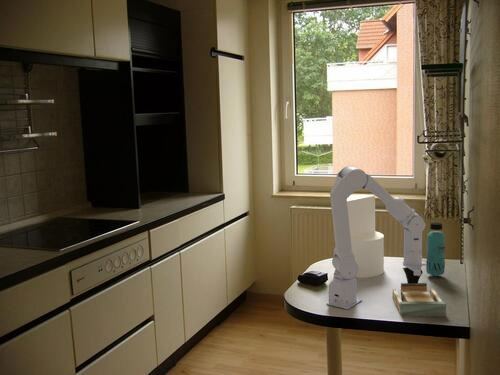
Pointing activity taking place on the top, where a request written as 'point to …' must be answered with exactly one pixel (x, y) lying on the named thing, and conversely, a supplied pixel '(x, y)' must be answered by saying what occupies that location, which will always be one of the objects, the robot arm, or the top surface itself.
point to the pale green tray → (420, 306)
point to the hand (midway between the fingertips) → (412, 289)
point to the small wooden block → (415, 292)
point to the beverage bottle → (435, 250)
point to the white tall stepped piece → (365, 236)
